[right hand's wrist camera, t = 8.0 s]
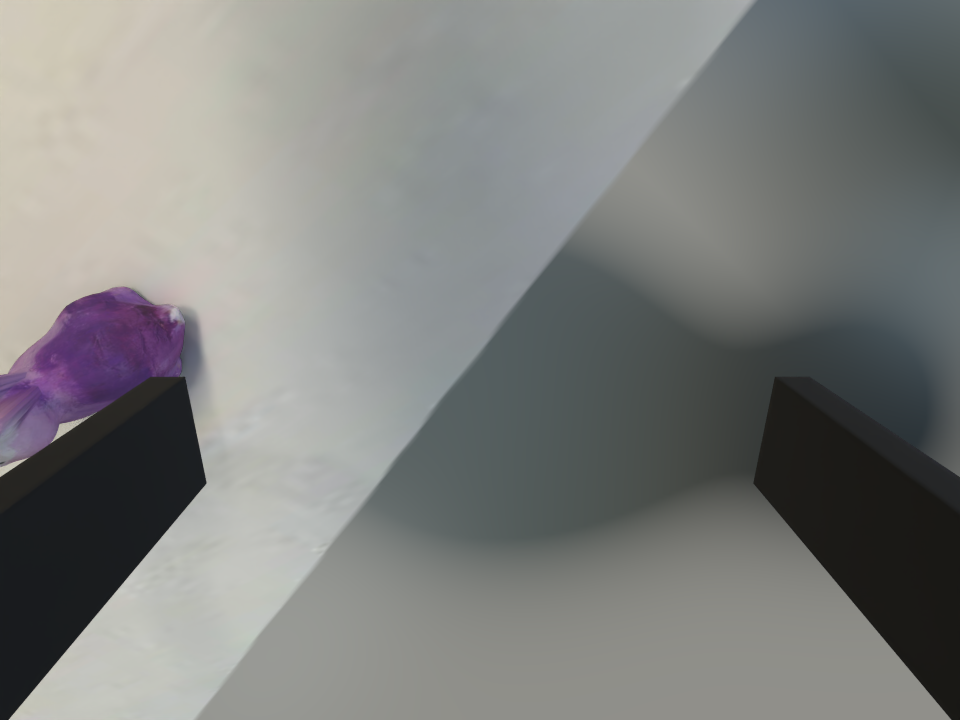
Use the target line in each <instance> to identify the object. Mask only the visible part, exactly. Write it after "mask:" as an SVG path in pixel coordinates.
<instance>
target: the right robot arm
mask: <svg viewBox="0 0 960 720" xmlns="http://www.w3.org/2000/svg"><path fill="white" fill-rule="evenodd" d="M205 485H206V478H205V473H204V468H203V463H202V458H201V453H200V448H199V443H198V439H197V434H196V429H195V424H194V419H193V414H192V409H191V404H190V399H189V394H188V389H187V384H186V379H185V377H150V378H148V379H147V380H145V381H144V382H142V383H141V384H139V385H138V386H136V387H135V388H133V389H132V390H130V391H129V392H127V393H126V394H124V395H123V396H121V397H120V398H118V399H117V400H115V401H114V402H112V403H111V404H109V405H108V406H106V407H105V408H103V409H102V410H100V411H99V412H97V413H96V414H94V415H93V416H91V417H90V418H88V419H87V420H85V421H84V422H82V423H81V424H79V425H78V426H76V427H75V428H73V429H72V430H70V431H69V432H67V433H66V434H64V435H63V436H61V437H60V438H58V439H57V440H55V441H54V442H52V443H51V444H49V445H48V446H46V447H45V448H43V449H42V450H40V451H39V452H37V453H36V454H34V455H33V456H31V457H30V458H28V459H27V460H25V461H24V462H22V463H21V464H19V465H18V466H16V467H15V468H13V469H12V470H10V471H9V472H7V473H6V474H4V475H3V476H1V477H0V720H9V719H10V717H11V716H12V715H13V714H14V713H15V711H16V710H17V709H18V708H19V707H20V705H21V704H22V703H23V702H24V701H25V699H26V698H27V697H28V696H29V695H30V693H31V692H32V691H33V690H34V689H35V687H36V686H37V685H38V684H39V683H40V682H41V680H42V679H43V678H44V677H45V676H46V674H47V673H48V672H49V671H50V670H51V668H52V667H53V666H54V665H55V664H56V662H57V661H58V660H59V659H60V658H61V656H62V655H63V654H64V653H65V652H66V650H67V649H68V648H69V647H70V646H71V644H72V643H73V642H74V641H75V640H76V639H77V637H78V636H79V635H80V634H81V633H82V631H83V630H84V629H85V628H86V627H87V625H88V624H89V623H90V622H91V621H92V619H93V618H94V617H95V616H96V615H97V613H98V612H99V611H100V610H101V609H102V607H103V606H104V605H105V604H106V603H107V602H108V600H109V599H110V598H111V597H112V596H113V594H114V593H115V592H116V591H117V590H118V588H119V587H120V586H121V585H122V584H123V582H124V581H125V580H126V579H127V578H128V576H129V575H130V574H131V573H132V572H133V570H134V569H135V568H136V567H137V566H138V565H139V563H140V562H141V561H142V560H143V559H144V557H145V556H146V555H147V554H148V553H149V551H150V550H151V549H152V548H153V547H154V545H155V544H156V543H157V542H158V541H159V539H160V538H161V537H162V536H163V535H164V533H165V532H166V531H167V530H168V529H169V528H170V526H171V525H172V524H173V523H174V522H175V520H176V519H177V518H178V517H179V516H180V514H181V513H182V512H183V511H184V510H185V508H186V507H187V506H188V505H189V504H190V502H191V501H192V500H193V499H194V498H195V496H196V495H197V494H198V493H199V492H200V491H201V489H202V488H203V487H204V486H205ZM754 485H755V486H756V487H757V488H758V489H759V491H760V492H761V493H762V494H763V495H764V496H765V498H766V499H767V500H768V501H769V502H770V504H771V505H772V506H773V507H774V508H775V510H776V511H777V512H778V513H779V514H780V516H781V517H782V518H783V519H784V520H785V522H786V523H787V524H788V525H789V526H790V528H791V529H792V530H793V531H794V532H795V533H796V535H797V536H798V537H799V538H800V539H801V541H802V542H803V543H804V544H805V545H806V547H807V548H808V549H809V550H810V551H811V553H812V554H813V555H814V556H815V557H816V559H817V560H818V561H819V562H820V563H821V565H822V566H823V567H824V568H825V569H826V570H827V572H828V573H829V574H830V575H831V576H832V578H833V579H834V580H835V581H836V582H837V584H838V585H839V586H840V587H841V588H842V590H843V591H844V592H845V593H846V594H847V596H848V597H849V598H850V599H851V600H852V602H853V603H854V604H855V605H856V606H857V607H858V609H859V610H860V611H861V612H862V613H863V615H864V616H865V617H866V618H867V619H868V621H869V622H870V623H871V624H872V625H873V627H874V628H875V629H876V630H877V631H878V633H879V634H880V635H881V636H882V637H883V638H884V640H885V641H886V642H887V643H888V645H889V646H890V647H891V648H892V649H893V650H894V652H895V653H896V654H897V655H898V656H899V658H900V659H901V660H902V661H903V662H904V664H905V665H906V666H907V667H908V668H909V670H910V671H911V672H912V673H913V674H914V676H915V677H916V678H917V679H918V680H919V681H920V683H921V684H922V685H923V686H924V687H925V689H926V690H927V691H928V692H929V693H930V695H931V696H932V697H933V698H934V699H935V701H936V702H937V703H938V704H939V705H940V707H941V708H942V709H943V710H944V711H945V713H946V714H947V715H948V716H949V717H950V719H951V720H960V477H959V476H957V475H956V474H954V473H953V472H951V471H950V470H948V469H947V468H945V467H944V466H942V465H941V464H939V463H938V462H936V461H935V460H933V459H932V458H930V457H929V456H927V455H926V454H924V453H923V452H921V451H920V450H918V449H917V448H915V447H914V446H912V445H911V444H909V443H908V442H906V441H905V440H903V439H902V438H900V437H899V436H897V435H896V434H894V433H893V432H891V431H890V430H888V429H887V428H885V427H884V426H882V425H881V424H879V423H878V422H876V421H875V420H873V419H872V418H870V417H869V416H867V415H866V414H864V413H863V412H861V411H860V410H858V409H857V408H855V407H854V406H852V405H851V404H849V403H848V402H846V401H845V400H843V399H842V398H840V397H839V396H837V395H836V394H834V393H833V392H831V391H830V390H828V389H827V388H825V387H824V386H822V385H821V384H819V383H818V382H816V381H815V380H813V379H812V378H810V377H775V379H774V384H773V389H772V394H771V399H770V404H769V409H768V414H767V419H766V424H765V429H764V434H763V439H762V443H761V448H760V453H759V458H758V463H757V468H756V473H755V478H754Z"/></svg>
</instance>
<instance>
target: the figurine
mask: <svg viewBox="0 0 960 720" xmlns="http://www.w3.org/2000/svg"><path fill="white" fill-rule="evenodd" d="M184 331H185V321H184V318H183V315H182V313H181V312H180V310H179V309H178V308H177V307H176V306H174V305H171V304H166V305H153V304H151V303H149V302H148V301H146V300H144V299H143V298H142V297H140V296H139V295H138V294H137V293H136V292H134V291H133V290H131V289H129V288H127V287H115V288H111V289H109V290H106V291H104V292H101V293H97V294H92V295H89V296H86V297H83V298H81V299H79V300H76V301H74V302H72V303H71V304H69V305H68V306H66V307H65V308H64V310H63V311H62V312H61V313H60V315H59V316H58V318H57V319H56V321H55V323H54V324H53V326H52V327H51V329H50V330H49V331H48V332H47V334H46V335H45V336H43V337H42V338H41V339H40V340H39V341H37V342H36V343H35V344H34V345H32V346H31V347H30V348H29V349H27V350H26V352H24V353H23V354H22V355H21V356H20V357H19V358H18V359H17V360H16V362H15V363H14V365H13V366H12V367H11V369H10V371H9V373H8V374H4V375H0V467H2V466H5V465H8V464H9V463H12V462H15V461H18V460H22V459H26V458H29V457H31V456H33V455H34V454H36V453H37V452H39V451H40V450H42V449H43V448H45V447H46V446H48V445H49V444H50V443H51V442H52V441H53V439H54V437H55V435H56V433H57V431H58V427H59V424H61V423H66V422H71V421H75V420H78V419H82V418H84V417H87V416H89V415H91V414H93V413H95V412H99V411H100V410H102V409H103V408H105V407H106V406H108V405H109V404H111V403H112V402H114V401H115V400H117V399H118V398H120V397H121V396H123V395H124V394H126V393H127V392H129V391H130V390H132V389H133V388H135V387H136V386H138V385H139V384H141V383H142V382H144V381H145V380H147V379H148V378H150V377H178V376H179V375H180V373H181V370H182V361H181V359H180V354H181V351H182V348H183V341H184Z"/></svg>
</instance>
